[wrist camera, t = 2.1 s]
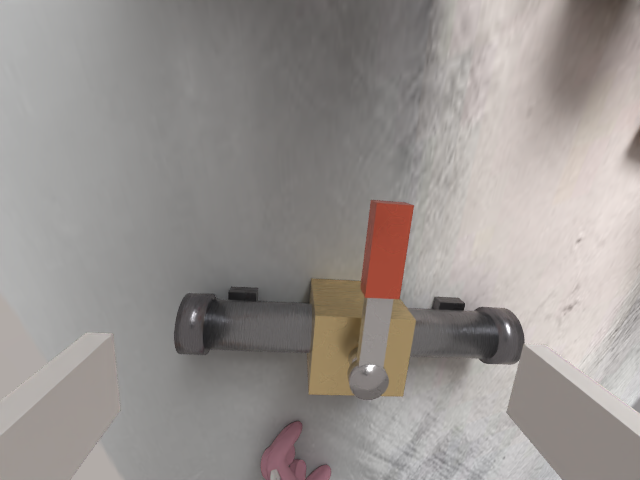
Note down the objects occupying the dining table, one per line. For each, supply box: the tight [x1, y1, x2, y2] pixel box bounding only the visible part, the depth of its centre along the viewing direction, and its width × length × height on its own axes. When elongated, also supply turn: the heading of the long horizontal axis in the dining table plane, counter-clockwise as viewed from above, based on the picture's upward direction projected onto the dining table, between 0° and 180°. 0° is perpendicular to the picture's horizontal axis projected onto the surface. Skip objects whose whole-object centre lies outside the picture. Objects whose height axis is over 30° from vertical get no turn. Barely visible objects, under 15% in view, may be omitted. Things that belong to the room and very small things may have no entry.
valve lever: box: [347, 200, 414, 400], centre depth 24 cm, size 16×3×2 cm, turn 175°
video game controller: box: [261, 421, 331, 480], centre depth 39 cm, size 10×5×7 cm, turn 27°
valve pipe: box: [174, 278, 524, 396], centre depth 31 cm, size 8×34×11 cm, turn 85°
